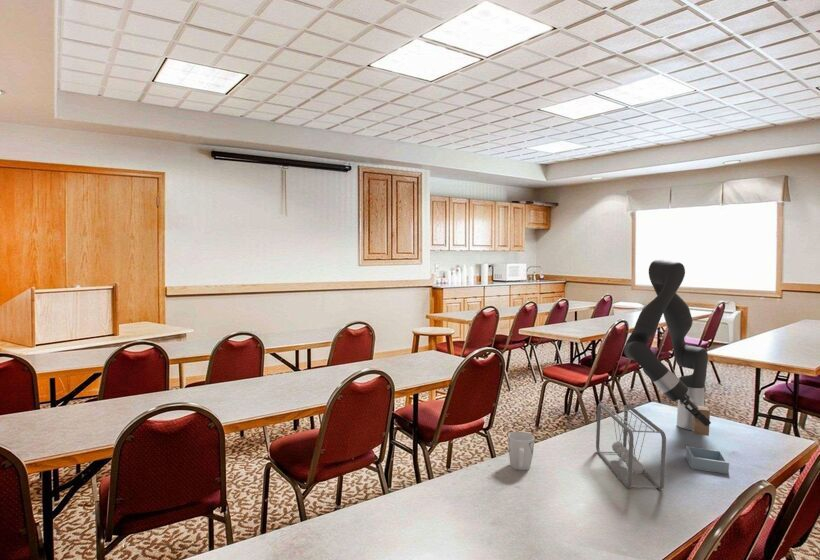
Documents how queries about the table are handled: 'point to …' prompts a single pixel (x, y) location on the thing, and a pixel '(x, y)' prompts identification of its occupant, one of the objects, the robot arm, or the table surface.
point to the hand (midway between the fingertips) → (707, 421)
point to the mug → (520, 449)
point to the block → (698, 425)
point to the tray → (707, 460)
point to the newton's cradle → (630, 446)
